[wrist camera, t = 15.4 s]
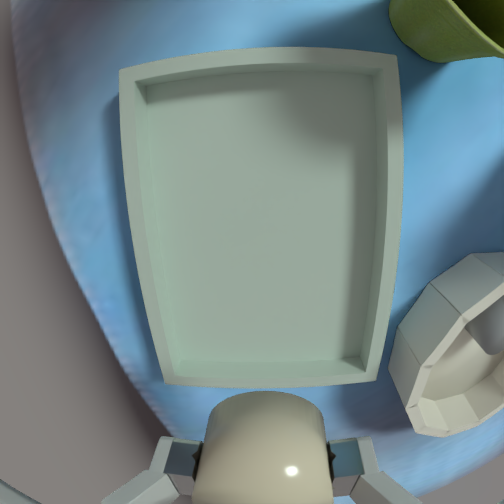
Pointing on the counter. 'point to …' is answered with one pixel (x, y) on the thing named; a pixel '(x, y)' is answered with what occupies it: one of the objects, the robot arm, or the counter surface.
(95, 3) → the counter surface
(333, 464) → the robot arm
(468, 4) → the plant pot
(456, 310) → the bowl
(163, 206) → the parts tray
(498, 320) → the grey ball
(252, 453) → the stone sand
